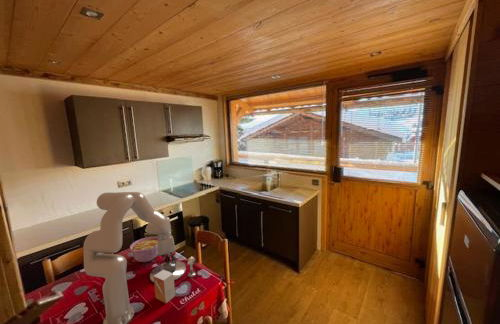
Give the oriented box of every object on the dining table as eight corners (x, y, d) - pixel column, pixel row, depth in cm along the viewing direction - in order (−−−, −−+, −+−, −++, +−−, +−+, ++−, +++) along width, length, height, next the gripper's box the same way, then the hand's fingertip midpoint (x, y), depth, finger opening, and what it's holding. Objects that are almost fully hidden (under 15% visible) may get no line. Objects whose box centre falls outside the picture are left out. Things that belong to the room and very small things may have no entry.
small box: (155, 298, 113) (153, 275, 112) (165, 290, 119) (163, 269, 117) (165, 304, 109) (163, 280, 108) (175, 295, 115) (173, 273, 113)
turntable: (177, 284, 123) (176, 274, 122) (142, 283, 125) (141, 274, 124) (190, 262, 144) (189, 254, 143) (160, 262, 146) (159, 253, 145)
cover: (173, 274, 130) (172, 266, 130) (162, 274, 131) (161, 266, 130) (177, 267, 137) (177, 260, 137) (167, 267, 138) (166, 260, 137)
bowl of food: (168, 255, 155) (167, 240, 153) (142, 270, 138) (140, 254, 136) (152, 248, 165) (150, 234, 164) (125, 262, 148) (123, 246, 147)
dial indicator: (197, 274, 131) (195, 256, 130) (190, 278, 128) (188, 260, 127) (193, 271, 135) (191, 254, 133) (186, 275, 132) (185, 257, 130)
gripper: (152, 241, 133) (155, 268, 135) (177, 235, 139) (180, 261, 141) (152, 236, 140) (155, 262, 142) (176, 230, 146) (178, 256, 148)
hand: (167, 262), depth 142 cm, fingers closed
